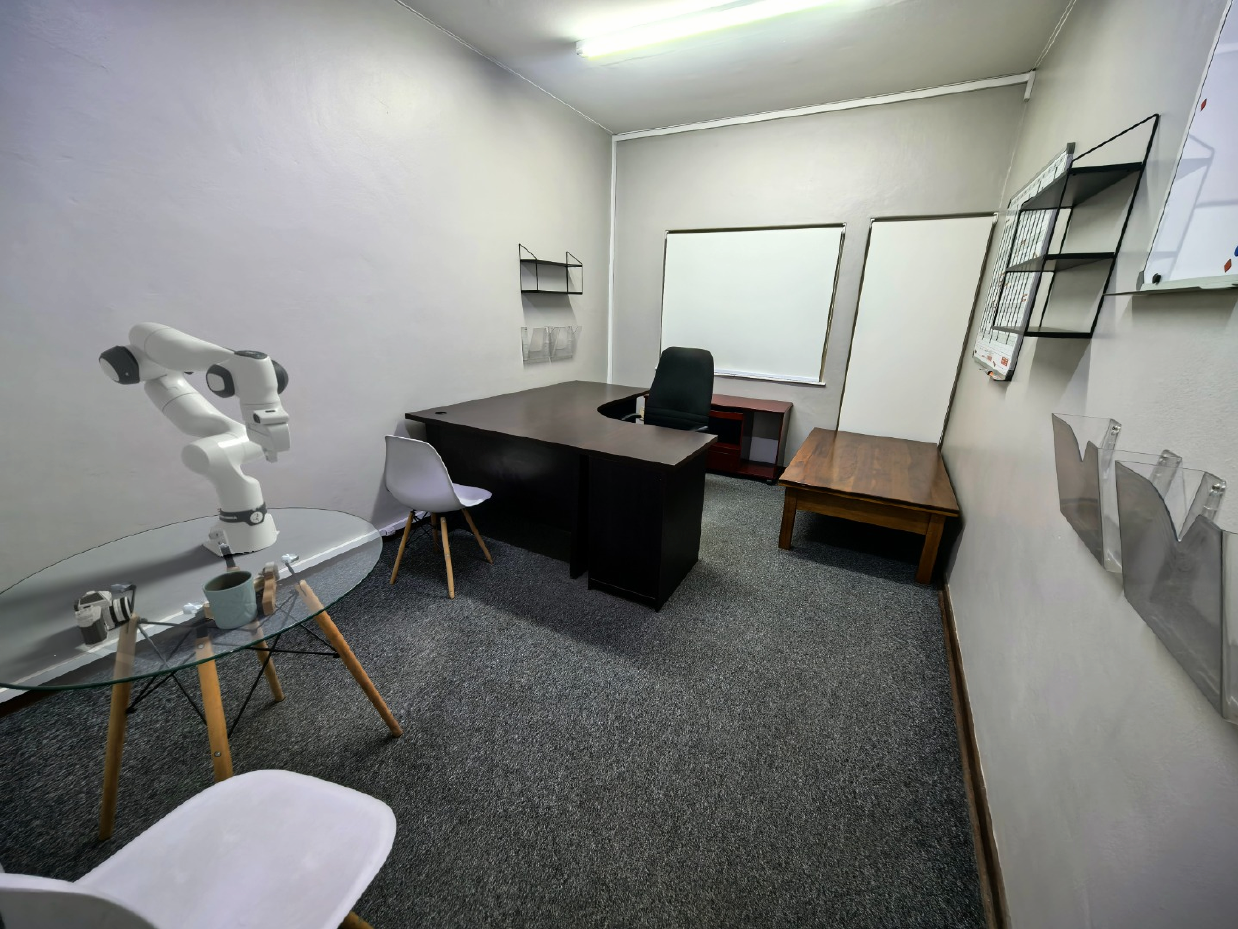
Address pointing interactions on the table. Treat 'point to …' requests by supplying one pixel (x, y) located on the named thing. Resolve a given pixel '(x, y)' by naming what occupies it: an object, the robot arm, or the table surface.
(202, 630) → the table surface
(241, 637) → the table surface
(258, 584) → the base
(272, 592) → the tongs jaw
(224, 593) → the green ceramic pot
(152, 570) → the table surface
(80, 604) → the camera
